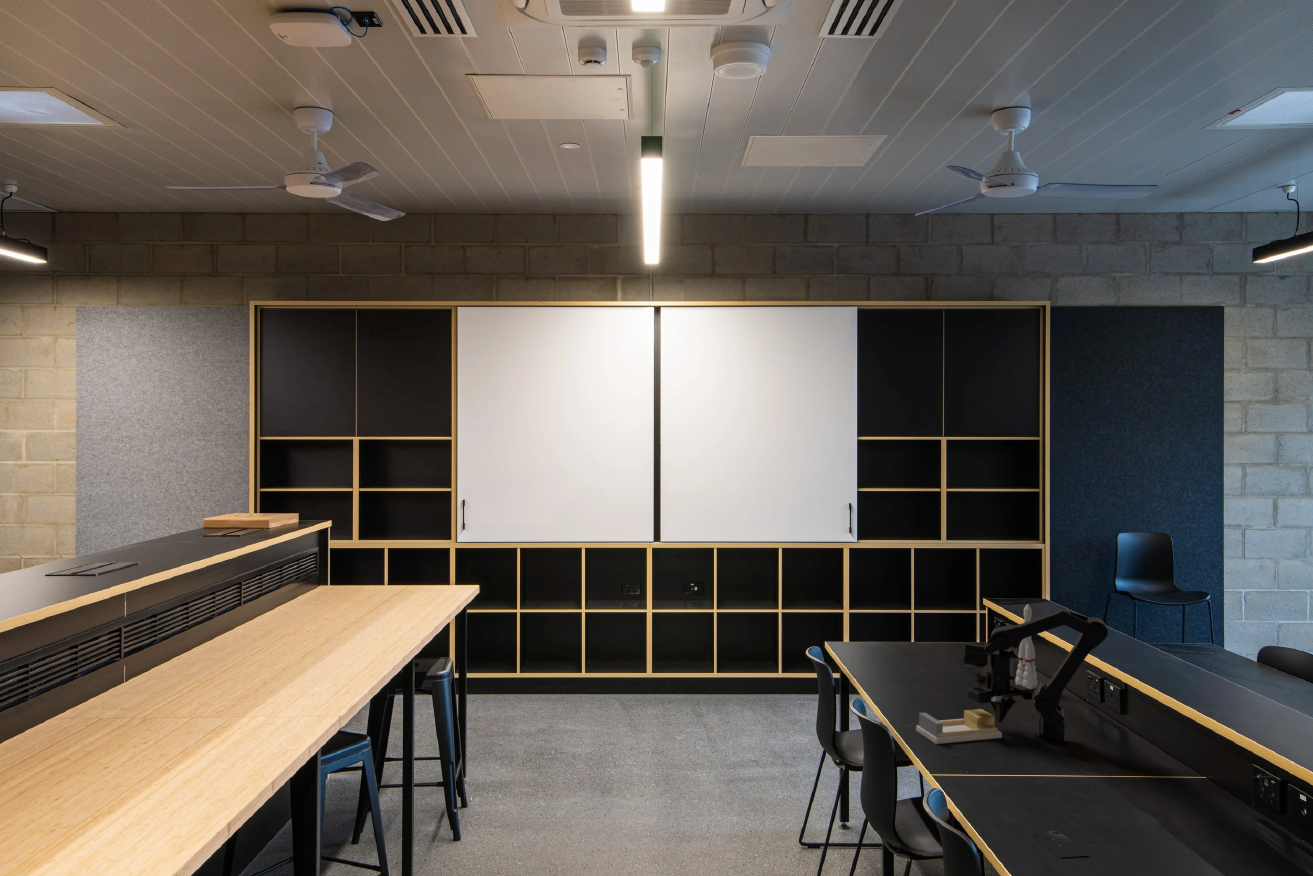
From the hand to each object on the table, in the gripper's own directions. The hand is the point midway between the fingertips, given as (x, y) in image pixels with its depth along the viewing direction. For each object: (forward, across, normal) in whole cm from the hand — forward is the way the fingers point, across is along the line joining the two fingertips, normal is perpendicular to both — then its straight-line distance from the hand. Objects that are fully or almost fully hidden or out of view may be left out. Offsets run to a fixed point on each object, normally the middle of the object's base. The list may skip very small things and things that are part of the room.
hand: (999, 722), depth 229 cm
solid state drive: (+3, +31, +58) cm, 66 cm away
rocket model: (+3, -36, -31) cm, 47 cm away
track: (+3, +14, 0) cm, 14 cm away
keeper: (+1, +7, 0) cm, 7 cm away
